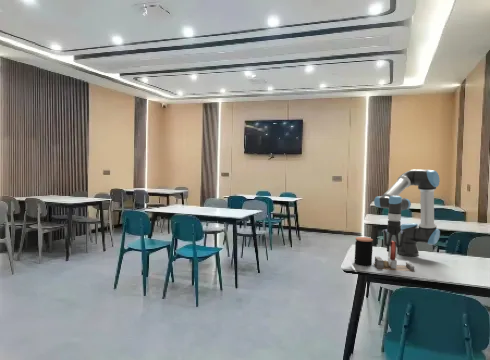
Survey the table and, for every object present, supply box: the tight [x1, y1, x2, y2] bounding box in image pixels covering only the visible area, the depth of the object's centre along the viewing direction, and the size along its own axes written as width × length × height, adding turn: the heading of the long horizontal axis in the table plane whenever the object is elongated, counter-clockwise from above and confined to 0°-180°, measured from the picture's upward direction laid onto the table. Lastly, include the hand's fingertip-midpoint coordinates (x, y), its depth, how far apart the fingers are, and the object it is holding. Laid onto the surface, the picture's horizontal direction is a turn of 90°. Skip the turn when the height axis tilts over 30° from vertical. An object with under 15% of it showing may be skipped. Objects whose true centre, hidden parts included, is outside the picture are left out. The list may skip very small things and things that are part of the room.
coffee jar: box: [354, 236, 374, 267], centre depth 236 cm, size 11×11×18 cm
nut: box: [383, 260, 389, 267], centre depth 231 cm, size 4×4×4 cm
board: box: [372, 256, 416, 272], centre depth 230 cm, size 13×22×6 cm, turn 83°
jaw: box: [387, 240, 398, 269], centre depth 230 cm, size 9×3×16 cm, turn 173°
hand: (392, 256), depth 230 cm, fingers closed on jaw, 3 cm apart
